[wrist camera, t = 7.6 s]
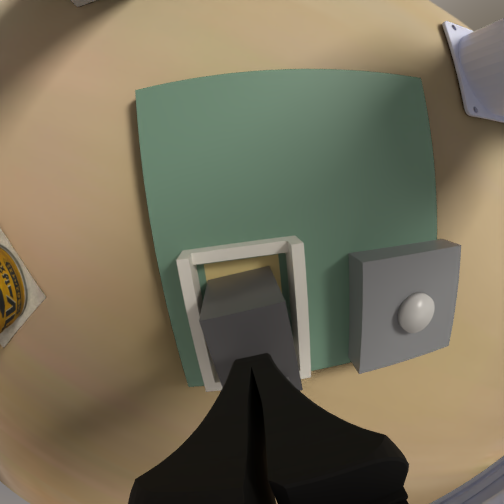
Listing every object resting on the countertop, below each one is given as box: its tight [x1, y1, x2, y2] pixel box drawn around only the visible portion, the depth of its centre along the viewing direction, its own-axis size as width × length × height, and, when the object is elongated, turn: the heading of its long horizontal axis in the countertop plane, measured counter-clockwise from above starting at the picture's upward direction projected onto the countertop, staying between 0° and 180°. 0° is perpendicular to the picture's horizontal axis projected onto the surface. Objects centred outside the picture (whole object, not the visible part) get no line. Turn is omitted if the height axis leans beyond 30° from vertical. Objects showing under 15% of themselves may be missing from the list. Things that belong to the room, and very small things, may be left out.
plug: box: [199, 266, 303, 391], centre depth 14 cm, size 3×5×6 cm
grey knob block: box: [348, 239, 461, 374], centre depth 16 cm, size 7×7×2 cm
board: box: [135, 69, 437, 392], centre depth 16 cm, size 17×18×3 cm
